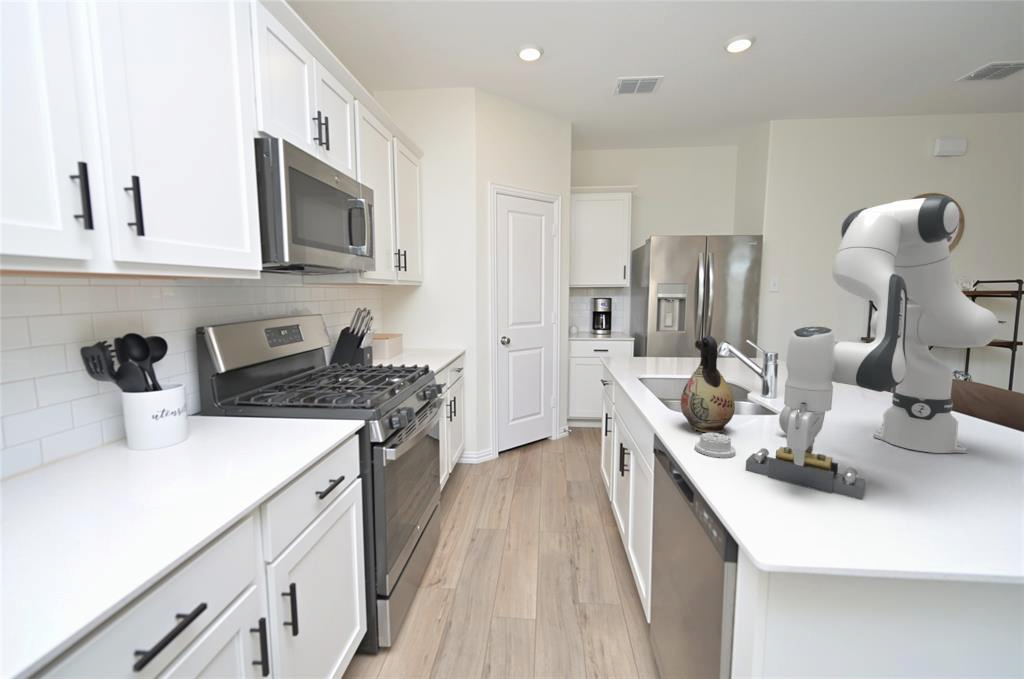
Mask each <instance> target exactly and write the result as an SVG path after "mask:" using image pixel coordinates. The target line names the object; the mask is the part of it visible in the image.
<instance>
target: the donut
mask: <svg viewBox="0 0 1024 679" xmlns="http://www.w3.org/2000/svg"><path fill="white" fill-rule="evenodd" d="M790 414H791V412H790V407H788V406H786V405H785V406H784V407H783V408H782V410H781V411H780V414H779V420H778V421H779V424H778V425H779V426H780V429H781V430H782V431H783V433H784V434H786V435H787V431H788V423H789V417H790Z"/></svg>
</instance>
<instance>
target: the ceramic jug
mask: <svg viewBox="0 0 1024 679" xmlns="http://www.w3.org/2000/svg"><path fill="white" fill-rule="evenodd" d="M694 345H695V346H694V347H695V348H696V349H698V350H699V351H700V353H701V354H700V355H701V356H700V357H701V358H700V362H699V364H698V367H697V368H696V369H695V370H694V372H692V374H691V376H690V377H689V378H688V381H687V382H686V384H685V385H684V388H683V390H682V392H681V398H680V408H681V412H682V415H683V416H684V417H685V419H686V421H688V423H689V424H690V426H691V429H692V428H694V429H695V430H694V429H693V430H694V431H696V430H698V431H697V432H699V431H701V432H700V433H703V432H705V433H718V434H721V433H723V432H724V431H725V427H726V426H727V425H728V423H730V422H731V420H732V419H733V416H734V413H735V409H736V408H735V407H736V404H735V400H734V399H735V398H734V396H733V392H732V390H731V387H730V386H729V384H728V382H727V381H726V379H725V378H724V376H723V375H722V373H721V372H720V370H719V369H718V368H717V366H718V364H717V362H718V353H719V352H718V343H717V340H716V338H715V337H713V336H712V335H706V336H704V337H702V340H700V339H696V341H695V343H694Z"/></svg>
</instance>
